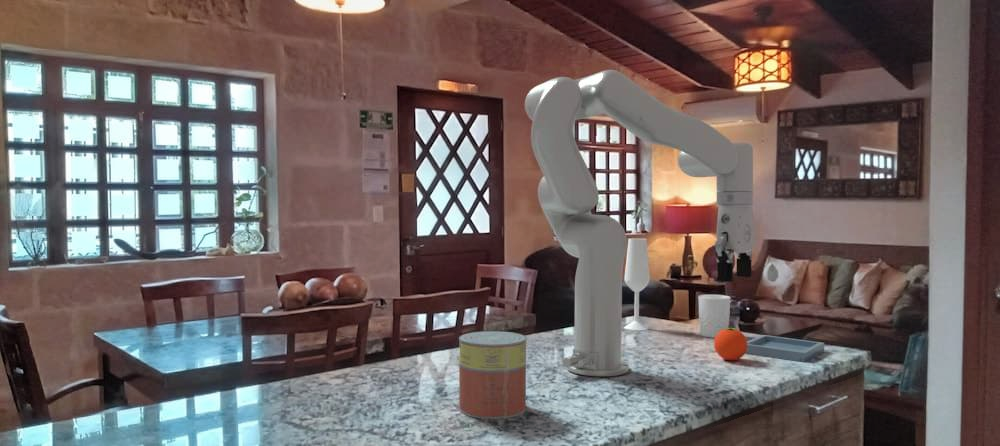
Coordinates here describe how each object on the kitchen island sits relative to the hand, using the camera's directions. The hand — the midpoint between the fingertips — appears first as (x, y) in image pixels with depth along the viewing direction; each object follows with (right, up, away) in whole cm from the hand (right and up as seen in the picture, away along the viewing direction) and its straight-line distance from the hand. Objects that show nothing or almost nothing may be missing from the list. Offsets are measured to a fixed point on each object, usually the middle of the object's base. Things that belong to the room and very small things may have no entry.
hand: (734, 278), depth 155 cm
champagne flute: (-14, -16, +37) cm, 43 cm away
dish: (+14, -17, +8) cm, 24 cm away
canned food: (-52, -19, -35) cm, 66 cm away
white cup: (+4, -17, +27) cm, 32 cm away
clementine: (-1, -18, +1) cm, 18 cm away
